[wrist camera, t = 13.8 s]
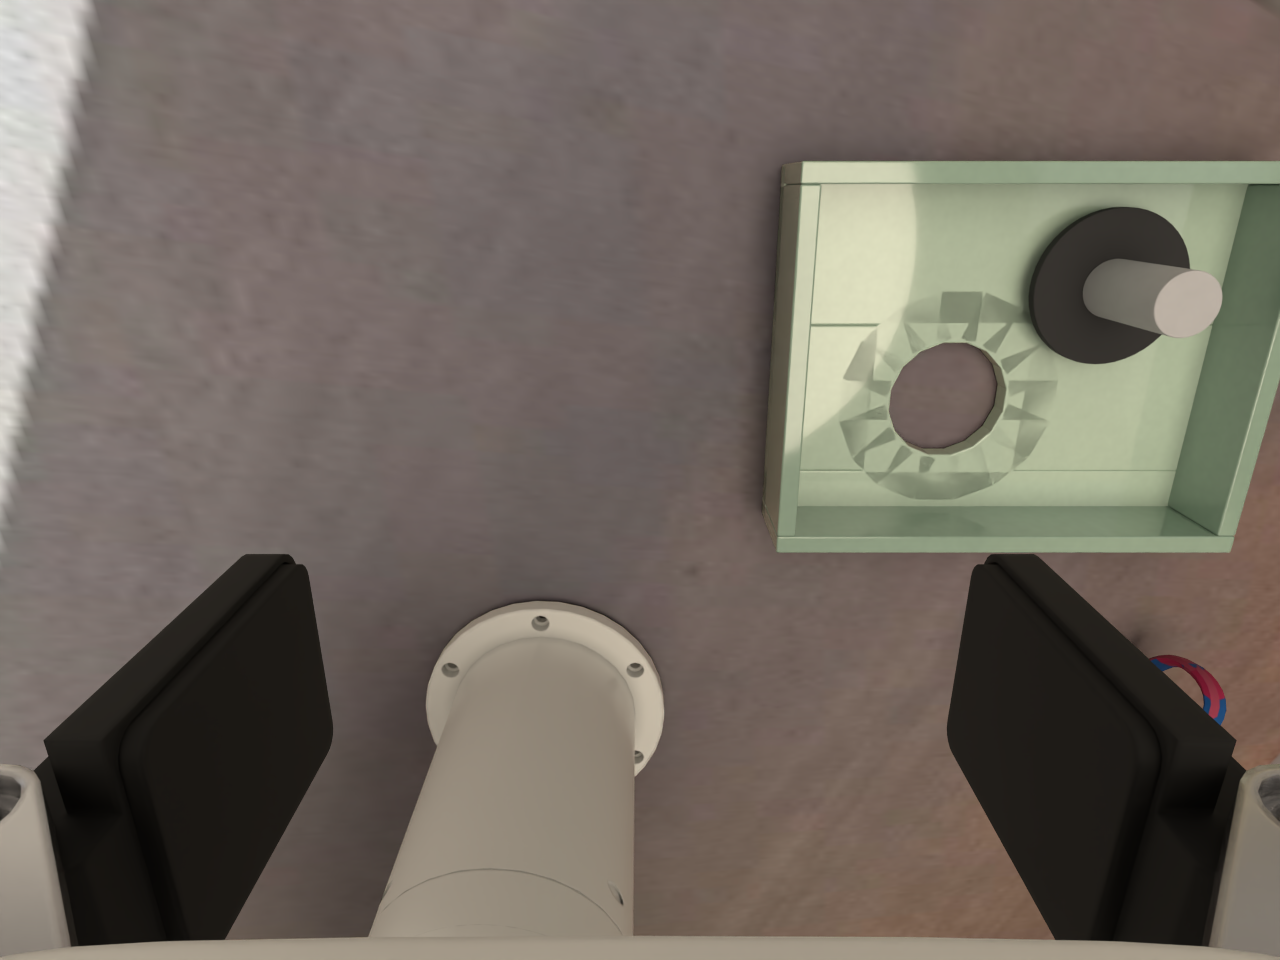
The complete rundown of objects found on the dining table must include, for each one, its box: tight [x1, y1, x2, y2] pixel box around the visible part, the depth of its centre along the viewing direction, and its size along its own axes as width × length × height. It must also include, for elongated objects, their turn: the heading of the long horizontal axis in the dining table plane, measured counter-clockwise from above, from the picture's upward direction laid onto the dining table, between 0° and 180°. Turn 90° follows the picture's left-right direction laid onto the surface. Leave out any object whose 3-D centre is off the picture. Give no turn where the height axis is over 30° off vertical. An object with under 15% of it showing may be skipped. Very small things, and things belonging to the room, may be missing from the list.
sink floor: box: [762, 166, 1250, 510], centre depth 36 cm, size 16×20×1 cm
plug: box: [1029, 207, 1222, 364], centre depth 31 cm, size 6×6×6 cm
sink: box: [762, 161, 1280, 553], centre depth 34 cm, size 16×20×4 cm
